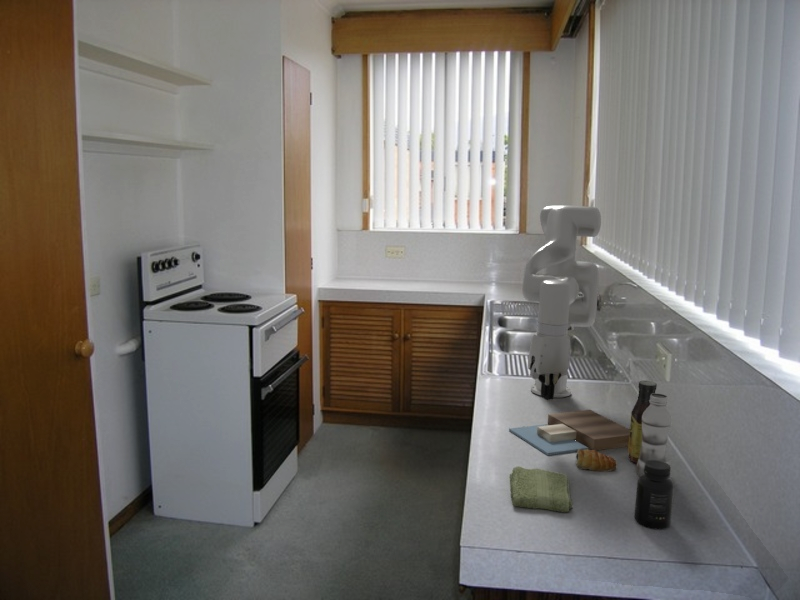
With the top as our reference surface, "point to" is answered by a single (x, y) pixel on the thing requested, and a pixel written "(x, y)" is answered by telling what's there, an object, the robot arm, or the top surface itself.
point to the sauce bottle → (639, 418)
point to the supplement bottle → (654, 496)
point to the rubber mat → (546, 441)
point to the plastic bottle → (654, 431)
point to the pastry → (594, 461)
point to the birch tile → (556, 432)
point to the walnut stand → (593, 429)
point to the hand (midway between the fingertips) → (547, 398)
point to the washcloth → (540, 489)
